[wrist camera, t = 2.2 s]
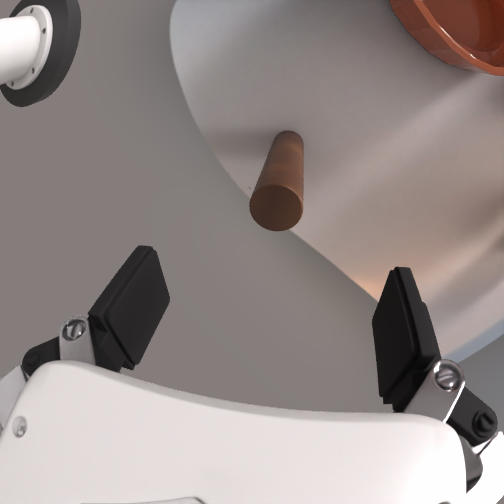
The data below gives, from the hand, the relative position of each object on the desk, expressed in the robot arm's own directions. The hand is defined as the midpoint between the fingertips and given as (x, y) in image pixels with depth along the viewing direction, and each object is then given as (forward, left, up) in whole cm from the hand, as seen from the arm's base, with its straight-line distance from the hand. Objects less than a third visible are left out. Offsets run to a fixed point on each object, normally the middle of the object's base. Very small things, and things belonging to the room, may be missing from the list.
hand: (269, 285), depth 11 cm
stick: (0, 0, -20) cm, 20 cm away
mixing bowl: (+17, +19, -20) cm, 32 cm away
